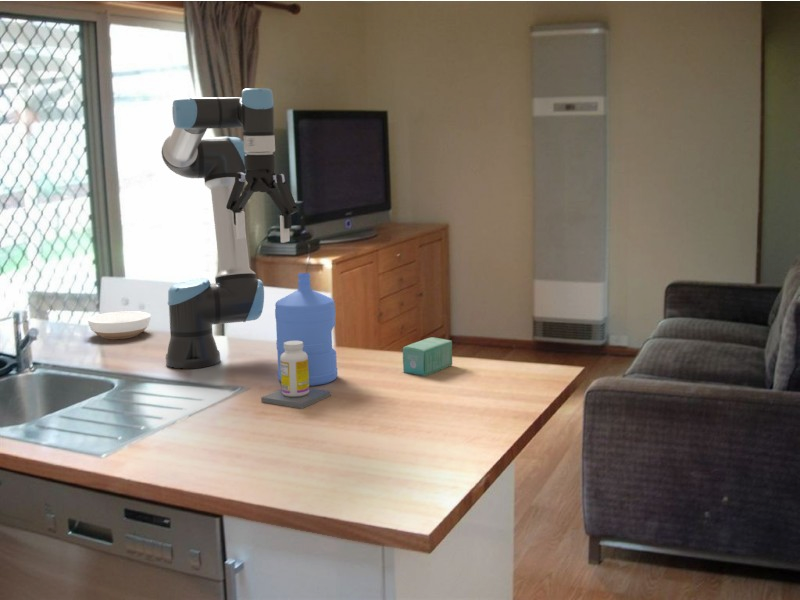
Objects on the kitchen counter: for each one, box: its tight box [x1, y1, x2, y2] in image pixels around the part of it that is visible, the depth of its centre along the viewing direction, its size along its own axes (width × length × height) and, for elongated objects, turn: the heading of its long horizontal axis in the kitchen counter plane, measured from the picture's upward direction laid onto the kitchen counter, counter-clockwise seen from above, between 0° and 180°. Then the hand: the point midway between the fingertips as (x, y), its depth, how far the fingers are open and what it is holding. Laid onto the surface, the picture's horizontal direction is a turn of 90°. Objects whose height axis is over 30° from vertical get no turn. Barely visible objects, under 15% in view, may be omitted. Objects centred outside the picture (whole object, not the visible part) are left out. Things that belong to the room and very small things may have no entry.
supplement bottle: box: [280, 341, 310, 397], centre depth 219 cm, size 7×7×13 cm
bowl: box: [88, 310, 151, 340], centre depth 295 cm, size 20×20×6 cm
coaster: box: [261, 387, 332, 409], centre depth 221 cm, size 12×12×1 cm
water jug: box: [274, 272, 338, 387], centre depth 236 cm, size 16×16×28 cm
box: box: [402, 336, 453, 377], centre depth 245 cm, size 7×14×8 cm, turn 143°
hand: (262, 240), depth 224 cm, fingers open, 13 cm apart
